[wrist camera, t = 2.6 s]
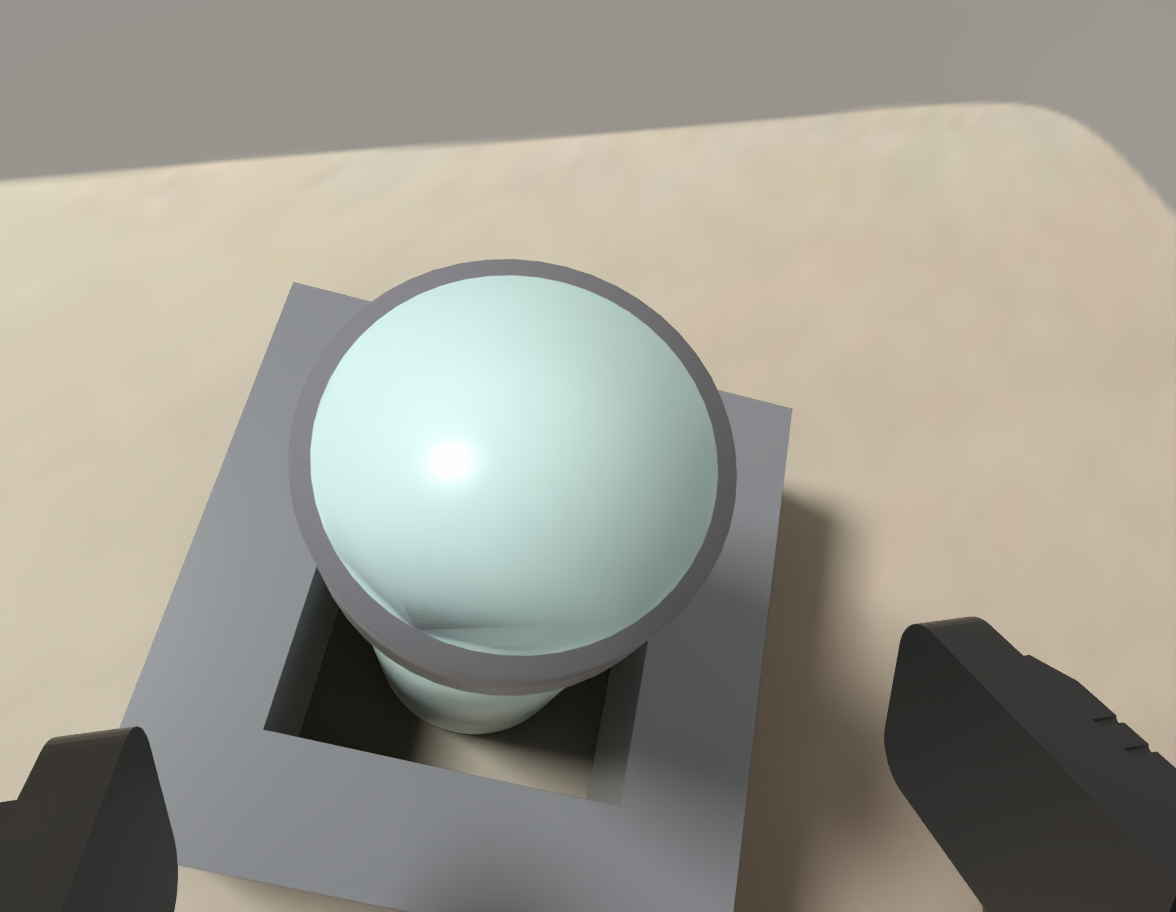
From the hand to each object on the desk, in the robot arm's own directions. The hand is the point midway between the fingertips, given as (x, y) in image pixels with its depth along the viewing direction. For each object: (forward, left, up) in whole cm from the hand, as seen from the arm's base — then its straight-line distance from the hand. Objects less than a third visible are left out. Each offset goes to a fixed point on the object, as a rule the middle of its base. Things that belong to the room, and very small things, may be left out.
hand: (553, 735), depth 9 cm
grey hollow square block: (-1, +2, -8) cm, 9 cm away
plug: (-1, +2, -8) cm, 9 cm away
